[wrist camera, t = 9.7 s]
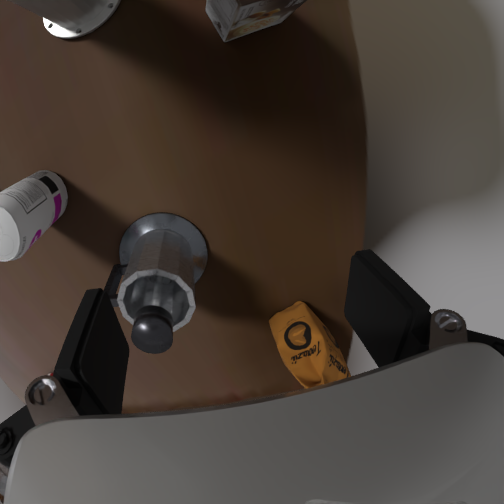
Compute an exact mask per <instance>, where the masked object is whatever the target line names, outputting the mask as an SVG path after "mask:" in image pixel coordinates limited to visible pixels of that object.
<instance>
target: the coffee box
mask: <svg viewBox="0 0 504 504" xmlns="http://www.w3.org/2000/svg"><path fill="white" fill-rule="evenodd" d="M305 1H307V0H207V3H206V13H207V14H208V16H209V18H210V19H211V21H212V23H213V24H214V26H215V28H216V29H217V31H218V33H219V35H220V36H221V38H222V40H223V41H224V42H228V41H231V40H234V39H236V38H239V37H241V36H244V35H247V34H250V33H252V32H255V31H258V30H261V29H264V28H267V27H270V26H273V25H276V24H279V23H282V22H283V21H284V20H285V19H286V18H287V17H288V16H289V15H290V14H291V13H293V12H294V11H295V10H296V9H297V8H298V7H300V6H301V5H302V4H303V3H304V2H305Z"/></svg>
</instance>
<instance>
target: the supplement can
mask: <svg viewBox="0 0 504 504" xmlns="http://www.w3.org/2000/svg"><path fill="white" fill-rule="evenodd" d="M67 199H68V195H67V190H66V186H65V185H64V183H63V181H62V179H61V178H60V177H59V176H58V175H57V174H55V173H53V172H51V171H48V170H43V171H38V172H36V173H35V174H33V175H31V176H29V177H27V178H25V179H23V180H21V181H20V182H18V183H16V184H14V185H12V186H11V187H9V188H7V189H5V190H4V191H2V192H0V261H4V262H7V261H9V260H16V259H18V258H20V257H22V256H23V255H24V253H25V252H26V251H27V250H28V249H29V248H30V247H31V246H32V245H33V244H34V243H35V242H36V240H37V239H38V238H39V237H40V236H41V235H42V234H43V233H44V232H45V231H46V230H47V229H48V228H49V227H50V226H51V225H52V224H53V223H54V222H55V221H56V220H57V219H58V218H59V217H60V216H61V215H62V214H63V213H64V211H65V209H66V206H67Z"/></svg>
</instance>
